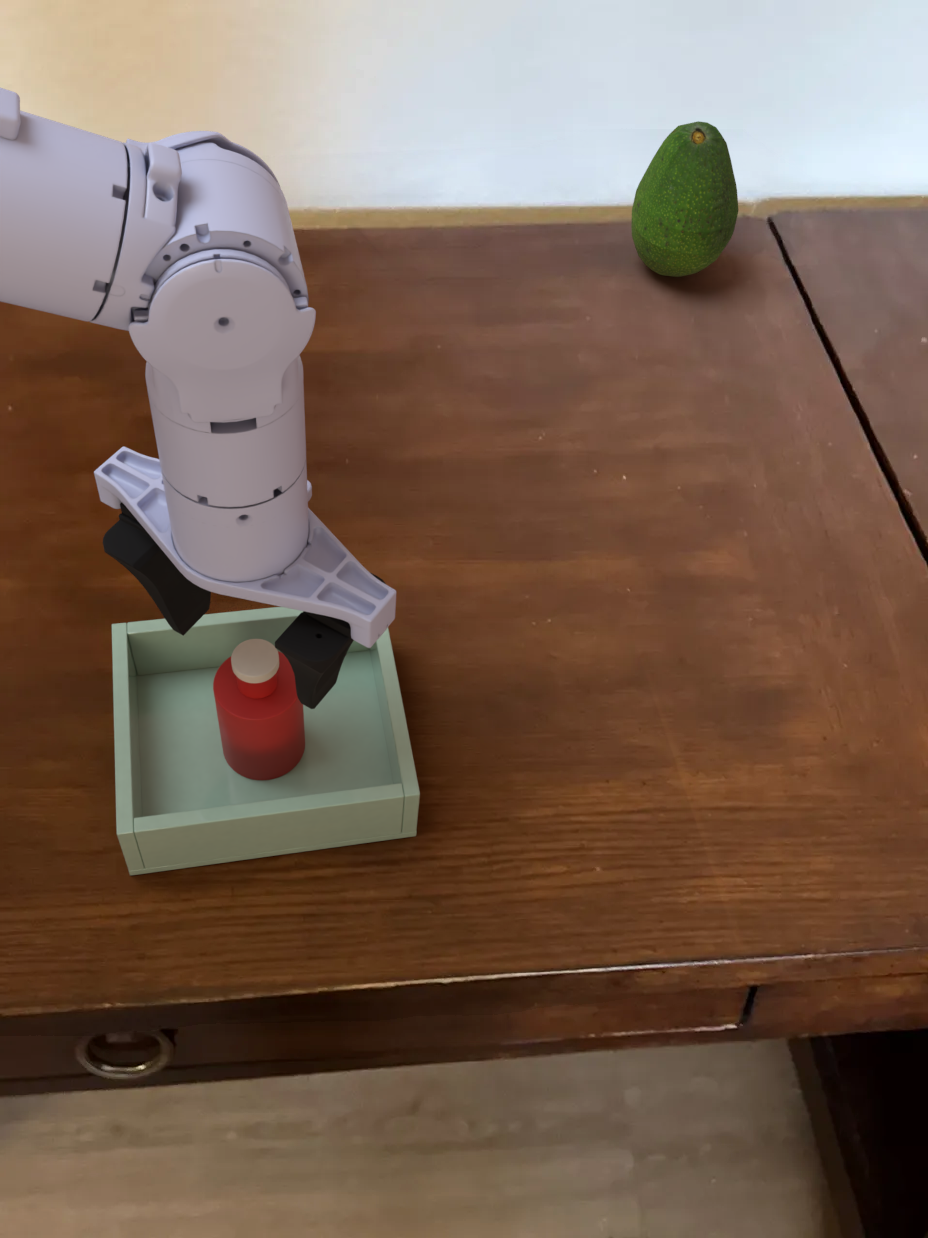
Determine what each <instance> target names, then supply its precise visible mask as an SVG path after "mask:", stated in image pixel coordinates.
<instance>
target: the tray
mask: <svg viewBox="0 0 928 1238" xmlns="http://www.w3.org/2000/svg"><path fill="white" fill-rule="evenodd" d="M303 612H304V611H300V610H295V609H290V608H285V607H280V606H274V607H264V608H253V609H245V610H234V611H226V612H224V611H223V612H215V613H205V614H204V615H203V616H202V617H201V618H200V619H199V620H198V621H197V622H196V623H195V624H194V625H193V626H192V628H191V629H190V630H189V631H188V632H187V633H186V634H185V635H184V636H183V635H181V634H179V633H178V632H176V631H174V630H173V629H172V628H171V627H170V625H169V624H168V622H167V621H166V619H165V618H157V619H156V618H155V619H148V620H147V619H146V620H137V621H128V622H120V623H119V622H117V623H111V657H112V658H111V660H112V661H111V662H112V663H111V664H112V666H111V667H112V703H113V704H112V705H113V706H112V708H113V743H114V744H113V745H114V748H113V749H114V788H115V793H114V794H115V829H116V832H115V833H116V834H115V835H116V837H117V840H118V843H119V846H120V849H121V852H122V855H123V859H124V861H125V865H126V867H127V870H128V874H129V876H137V875H144V874H153V873H158V872H159V873H160V872H166V871H174V870H181V869H188V868H195V867H196V868H197V867H204V866H209V865H217V864H224V863H225V864H226V863H232V862H238V861H239V862H240V861H246V860H255V859H260V858H267V857H268V858H269V857H273V856H275V857H276V856H283V855H290V854H296V853H305V852H311V851H319V850H326V849H333V848H340V847H347V846H355V845H361V844H367V843H376V842H383V841H390V840H391V841H392V840H397V839H404V838H405V839H406V838H412V837H417V832H418V831H417V829H418V821H419V811H420V810H419V809H420V799H421V790H420V785H419V780H418V777H417V769H416V765H415V760H414V754H413V748H412V744H411V738H410V734H409V728H408V723H407V717H406V711H405V707H404V702H403V697H402V692H401V691H402V690H401V686H400V681H399V676H398V671H397V665H396V660H395V655H394V650H393V644H392V640H391V633H390V629H389V627H388V628H387V629H386V630H385V632H384V633H383V634H382V635H381V636H380V638H379V639H378V640H377V641H376V642H375V643H374V644H373V646H372V647H371V648H367V647H365V646H364V645H362V644H360V643H358V642H356V641H353V642H352V644H351V646H350V648H349V650H348V652H347V654H346V656H345V658H344V660H343V663H342V665H341V668H340V671H339V674H338V678H337V682H336V684H335V685H334V686H333V687H332V688H331V690H330V691H329V692H328V693H327V694H326V696H325V697H324V698H323V699H322V700H321V702H320V703H319V704H318V705H317V706H316V708H315V709H310V708H308V707H307V706H305V705H303V712H304V730H305V750H304V753H303V756H302V758H301V760H300V761H299V763H298V764H297V765H296V766H295V767H294V768H293V769H292V770H291V771H290V772H288V773H287V774H285V775H283V776H281V777H278V778H275V779H271V780H253V779H249V778H246V777H244V776H241V775H240V774H238V773H237V772H235V771H234V770H233V769H232V768H231V767H230V766H229V765H228V763H227V761H226V759H225V757H224V754H223V748H222V741H221V735H220V729H219V722H218V716H217V710H216V703H215V697H214V691H213V682H214V677H215V674H216V672H217V670H218V669H219V667H220V666H221V665H222V663H223V662H224V661H225V660H227V659H228V658H229V657H231V655H232V653H233V651H234V649H235V648H236V647H237V646H238V645H239V644H240V643H242V642H244V641H246V640H249V639H263V640H266V641H268V642H270V643H271V644H273V645H274V646H275V641H276V640H277V639H278V638H279V637H280V636H281V634H282V633H283V632H284V631H285V630H286V629H287V628H288V627H289V626H290V624H291V623H292V622H293V621H294V620H295V619H296V618H297V617H298V616H299V614H300V613H303ZM277 651H279V650H278V649H277ZM279 652H281V651H279ZM281 653H282V652H281Z"/></svg>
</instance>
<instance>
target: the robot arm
mask: <svg viewBox="0 0 928 1238" xmlns="http://www.w3.org/2000/svg"><path fill="white" fill-rule="evenodd" d="M296 239H297V238H296V235H295V231H294V227H293V223H292V219H291V214H290V210H289V205H288V201H287V199H286V197H285V194H284V192H283V190H282V188H281V185H280V183H279V181H278V178H277V176H276V175H275V173H274V172H273V170H272V169H271V167H270V166H269V165H268V164H267V163H266V162H265V161H264V160H263V159H262V158H261V157H260V156H258V154H256V153H254V152H253V151H251V150H250V149H248V148H247V147H245V146H243V145H240V144H238V143H236V142H233V141H231V140H230V139H229V138H227V137H226V136H225V135H223V134H222V133H220V132H218V131H212V130H192V131H184V132H180V133H176V134H175V133H174V134H172V135H168V136H165V137H163V138H161V139H159V140H155V141H150V142H145V141H144V142H143V141H139V140H135V139H132V138H126V141H125V142H123V141H119V140H117V139H114V138H110V137H108V136H104V135H101V134H97V133H95V132H92V131H89V130H85V129H82V128H80V127H79V128H78V127H76V126H72V125H69V124H65V123H62V122H59V121H56V120H52V119H49V118H47V117H43V116H40V115H36V114H34V113H30V112H27V111H23V110H21V98H20V95H19V94H18V93H17V92H16V91H13V90H9V89H6V88H3V87H0V303H5V304H10V305H13V306H18V307H22V308H27V309H31V310H35V311H39V312H43V313H49V314H52V315H56V316H61V317H65V318H70V319H73V320H79V321H82V322H87V323H88V322H89V323H91V324H96V325H101V326H104V327H108V328H113V329H117V330H122V331H126V332H128V333H129V336H130V340H131V341H132V343H133V345H134V347H135V349H136V350H137V352H138V353H139V354H140V356H141V357H142V358H143V359H144V360H145V361H146V363H145V372H144V376H145V384H146V390H147V396H148V401H149V408H150V415H151V420H152V425H153V430H154V436H155V443H156V449H157V454H158V455H157V456H158V458H157V457H152V456H148V455H145V454H143V453H140V452H137V451H135V450H133V449H131V448H129V447H127V446H122V447H120V448H119V449H118V450H117V451H116V452H114V453H113V454H112V455H111V456H110V457H109V458H108V459H106V460H105V461H104V462H103V463H102V464H101V465H99V466H98V467H97V468H96V469H94V471H93V475H94V480H95V484H96V487H97V491H98V492H97V493H98V497H99V501H100V502H102V503H103V504H105V505H107V506H108V507H110V508H112V509H115V510H120V512H121V513H119V515H118V519H119V520H118V521H117V522H115V523H114V524H113V525H112V526H111V527H110V528H109V529H108V530H107V531H106V532H105V533H104V535H103V538H102V546H103V551H104V553H105V554H107V555H108V556H109V557H111V558H113V559H114V560H116V561H117V562H118V563H119V564H120V565H122V566H123V567H124V568H125V569H126V570H127V571H128V572H130V574H131V575H133V577H134V578H135V579H136V580H137V581H138V582H139V583H140V585H141V586H142V587H143V588H144V589H145V591H146V593H148V595H149V597H150V598H151V599H152V600H153V602H154V604H155V606H156V607H157V608H158V610H159V612H160V613H161V615H162V617H163V619H166V621H167V622H168V624H169V625H170V627H171V628H172V629H173V630H174V631H176V632H178V633H179V634H181V635H183V636H184V635H185V634H186V633H187V632H188V631H189V630H190V629H191V628H192V626H193V625H194V624H195V623H196V622H197V621H198V620H199V619H200V618H201V617H202V616H203V615H204V614H207V612H208V611H209V610H210V608H211V601H212V600H211V598H212V593H213V594H218V595H222V596H227V597H230V598H231V597H232V598H236V599H243V600H246V601H252V602H256V603H261V604H267V605H270V606H274V607H285V608H290V609H295V610H300V611H304V612H303V613H300V614H299V616H298V617H297V618H296V619H295V620H294V621H293V622H292V623H291V624H290V626H289V627H288V628H287V629H286V630H285V631H284V632H283V633H282V634H281V636H280V637H279V638H278V639H277V640H276V641H275V648H276V649H278V650H279V651H281V652H282V653H283V654H284V655H285V657H286V658H287V659H288V661H289V663H290V665H291V667H292V669H293V672H294V676H295V684H296V693H297V697H298V699H299V701H300V702H301V704H303V705H305V706H307V707H308V708H310V709H315V708H316V706H317V705H318V704H319V703H320V702H321V700H322V699H323V698H324V697H325V696H326V694H327V693H328V692H329V691H330V690H331V688H332V687H333V686H334V685H335V684H336V682H337V678H338V674H339V671H340V668H341V665H342V663H343V660H344V658H345V656H346V654H347V652H348V650H349V648H350V646H351V644H352V642H353V641H356V642H358V643H360V644H362V645H364V646H365V647H367V648H371V647H372V646H373V644H374V643H375V642H376V641H377V640H378V639H379V638H380V636H381V635H382V634H383V633H384V632H385V630H386V629H387V628H389V626H390V625H391V624H392V623H393V622H394V621H395V619H396V611H397V610H396V607H397V590H396V589H395V588H393V587H391V586H390V585H388V584H387V583H386V582H385V581H384V579H383V578H381V577H380V576H378V575H376V574H374V573H372V572H370V571H369V570H368V569H367V568H366V567H365V566H363V564H362V563H361V562H360V561H359V560H358V559H357V558H356V557H355V556H354V555H353V553H351V551H349V549H348V548H347V547H346V546H345V545H344V544H343V543H342V542H341V541H340V539H338V538H337V537H336V536H335V534H334V533H332V531H331V530H330V529H329V528H328V527H327V526H326V525H325V523H324V522H323V521H321V519H320V518H319V517H318V516H317V515H316V514H315V513H314V512H313V511H312V510H311V509H310V508H309V501H310V500H311V499H312V496H313V486H312V483H311V482H310V481H309V480H308V471H307V470H308V469H307V468H308V467H307V466H308V465H307V439H306V436H307V435H306V414H305V386H304V384H305V383H304V380H305V379H304V377H305V376H304V364H303V361H302V358H301V357H302V356H301V353H302V352H303V351H304V350H305V348H306V346H307V345H308V343H309V341H310V340H311V337H312V335H313V332H314V329H315V324H316V315H317V311H316V309H315V308H313V307H312V306H311V307H310V306H309V300H310V298H309V292H308V285H307V281H306V277H305V272H304V269H303V265H302V261H301V255H300V252H299V248H298V243H297V240H296Z"/></svg>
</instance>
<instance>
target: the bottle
mask: <svg viewBox="0 0 928 1238" xmlns="http://www.w3.org/2000/svg"><path fill="white" fill-rule="evenodd" d="M213 691H214V697H215V703H216V710H217V716H218V722H219V729H220V735H221V741H222V748H223V754H224V757H225V759H226V761H227V763H228V765H229V766H230V767H231V768H232V769H233V770H234V771H235V772H237V773H238V774H240V775H241V776H244V777H246V778H249V779H253V780H271V779H275V778H278V777H281V776H283V775H285V774H287V773H288V772H290V771H291V770H292V769H293V768H294V767H295V766H296V765H297V764H298V763H299V761H300V760H301V758H302V756H303V753H304V750H305V730H304V712H303V704H301V702H300V701H299V699H298V697H297V693H296V684H295V676H294V672H293V669H292V667H291V665H290V663H289V661H288V659H287V658H286V657H285V655H284V654H283V653H281V652H279V651H277V649H276V648H275V646H274V645H273V644H271V643H270V642H268V641H266V640H263V639H249V640H246V641H244V642H242V643H240V644H239V645H238V646H237V647H236V648H235V649H234V651H233V653H232V655H231V657H229V658H228V659H227V660H225V661H224V662H223V663H222V665H221V666H220V667H219V669H218V670H217V672H216V674H215V677H214V682H213Z"/></svg>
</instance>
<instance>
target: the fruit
mask: <svg viewBox="0 0 928 1238" xmlns="http://www.w3.org/2000/svg"><path fill="white" fill-rule="evenodd" d="M739 211H740V210H739V198H738V188H737V182H736V177H735V173H734V169H733V163H732V159H731V155H730V151H729V147H728V143H727V141H726V140H725V138H724V137H723V135H722V133H721V132H720V131H719V129H718V128H717V127H716V126H714V125H713V124H711V123H709V122H706V121H699V120H698V121H694V122H687V123H684V124H680V125H678V126H676V127H675V128H674V129H673V130H672V131H671V132H670V133H669V134H668V135H667V136H666V137H665V138H664V140H663V141H662V142H661V144H660V146H659V148H658V149H657V150H656V153H655V154H654V155H653V158H652V159H651V161H650V163H649V165H648V166H647V168H646V170H645V172H644V173H643V176H642V178H641V179H640V182H639V183H638V185H637V188H636V190H635V193H634V199H633V203H632V208H631V225H630V226H631V238H632V241H633V244H634V248H635V250H636V253H637V255H638V257H639V258H640V260H641V261H642V263H643V264H644V265H645V266H646V267H647V268H648V269H650V270H651V271H652V272H654V273H656V274H658V275H660V276H667V277H675V278H680V277H686V276H690V275H694V274H697V273H699V272H701V271H703V270H705V269H706V268H708V267H709V266H710V265H712V264H713V263H715V262H716V261H717V260H718V258H719V257H720V256H721V254H722V253H723V251H724V250H725V249H726V248H727V245H728V244H729V242H730V241H731V239H732V237H733V235H734V232H735V228H736V224H737V219H738V216H739V215H738V214H739Z"/></svg>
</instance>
